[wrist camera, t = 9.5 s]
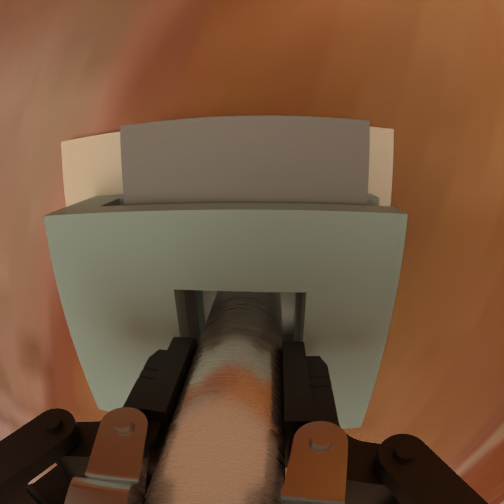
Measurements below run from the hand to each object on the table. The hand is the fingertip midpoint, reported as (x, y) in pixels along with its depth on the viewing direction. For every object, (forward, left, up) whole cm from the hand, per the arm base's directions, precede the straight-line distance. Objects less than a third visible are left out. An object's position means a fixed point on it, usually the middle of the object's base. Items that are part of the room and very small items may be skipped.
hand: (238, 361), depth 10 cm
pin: (0, 0, -4) cm, 4 cm away
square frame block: (+1, -1, -6) cm, 6 cm away
